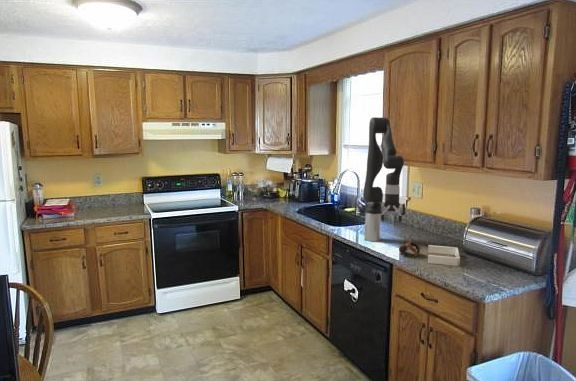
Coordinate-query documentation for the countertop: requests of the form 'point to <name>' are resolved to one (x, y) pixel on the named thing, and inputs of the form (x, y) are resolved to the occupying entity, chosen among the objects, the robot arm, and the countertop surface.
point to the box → (442, 259)
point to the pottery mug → (408, 246)
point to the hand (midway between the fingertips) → (391, 221)
